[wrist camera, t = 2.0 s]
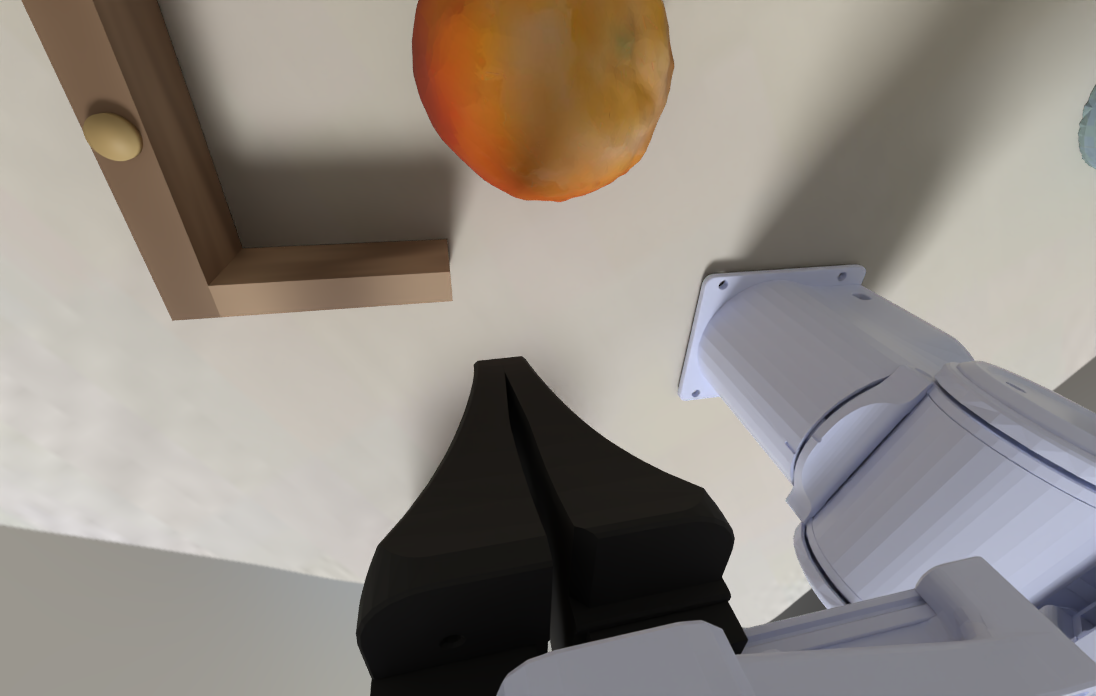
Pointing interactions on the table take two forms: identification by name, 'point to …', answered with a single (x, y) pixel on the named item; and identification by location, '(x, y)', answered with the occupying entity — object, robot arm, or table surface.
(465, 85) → the fruit
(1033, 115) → the table surface
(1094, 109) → the grey-green cup
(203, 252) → the walnut bay
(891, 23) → the table surface
